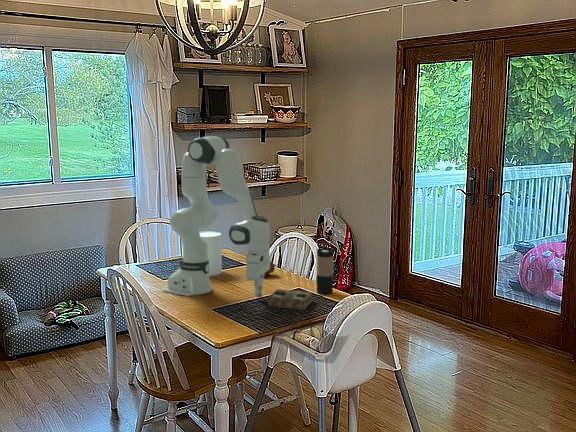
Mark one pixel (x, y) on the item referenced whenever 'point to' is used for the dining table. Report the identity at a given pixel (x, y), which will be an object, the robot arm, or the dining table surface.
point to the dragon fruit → (270, 269)
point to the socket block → (290, 299)
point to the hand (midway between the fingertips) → (258, 284)
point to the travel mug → (325, 271)
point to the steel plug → (259, 287)
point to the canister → (213, 251)
